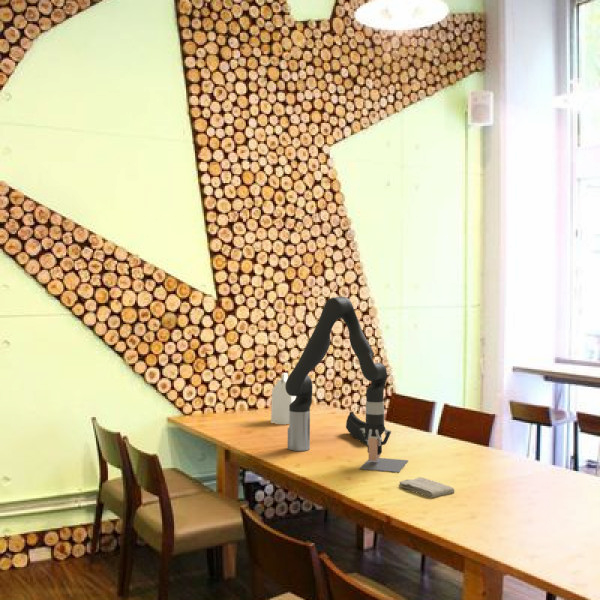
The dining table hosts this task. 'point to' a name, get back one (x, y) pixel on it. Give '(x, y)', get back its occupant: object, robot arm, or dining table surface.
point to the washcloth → (426, 487)
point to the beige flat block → (373, 448)
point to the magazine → (355, 426)
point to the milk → (281, 402)
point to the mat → (384, 465)
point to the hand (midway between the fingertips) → (374, 454)
